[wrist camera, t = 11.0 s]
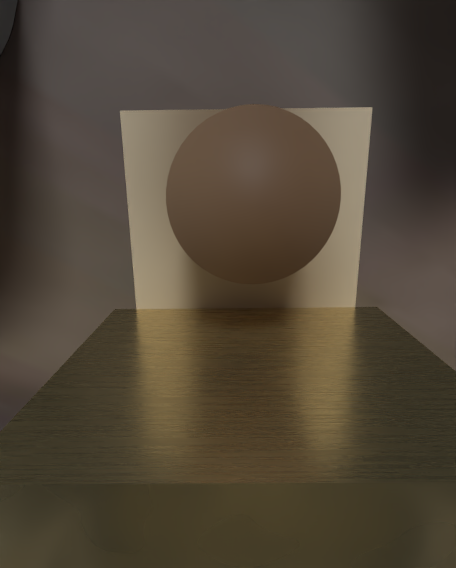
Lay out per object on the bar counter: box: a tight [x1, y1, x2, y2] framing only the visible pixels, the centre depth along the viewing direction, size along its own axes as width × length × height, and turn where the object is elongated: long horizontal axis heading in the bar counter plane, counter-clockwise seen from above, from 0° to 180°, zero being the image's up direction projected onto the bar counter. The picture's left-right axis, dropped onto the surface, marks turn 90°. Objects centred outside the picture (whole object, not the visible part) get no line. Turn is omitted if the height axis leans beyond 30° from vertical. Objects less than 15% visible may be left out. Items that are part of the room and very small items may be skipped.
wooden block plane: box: [120, 104, 372, 309], centre depth 12 cm, size 6×22×8 cm, turn 1°
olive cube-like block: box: [0, 307, 456, 568], centre depth 8 cm, size 7×6×6 cm
